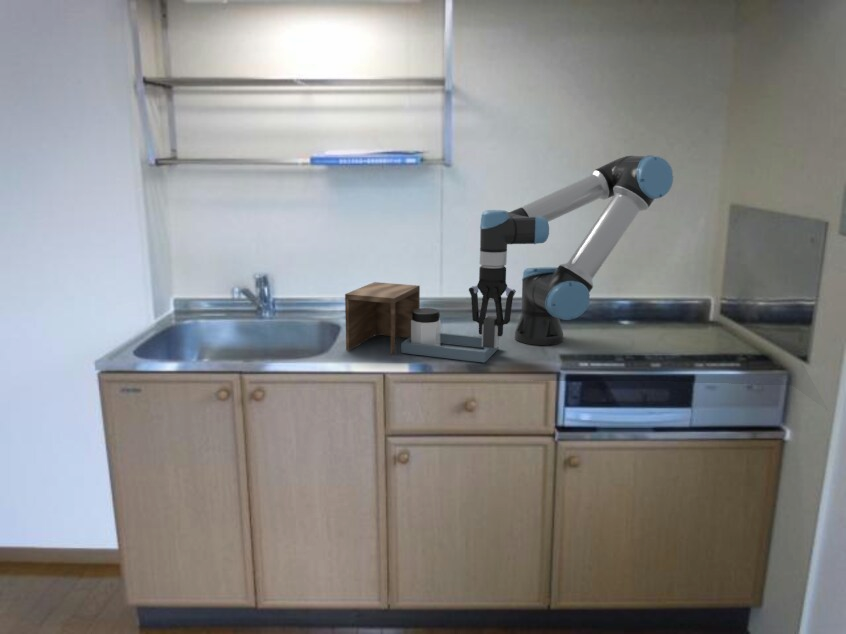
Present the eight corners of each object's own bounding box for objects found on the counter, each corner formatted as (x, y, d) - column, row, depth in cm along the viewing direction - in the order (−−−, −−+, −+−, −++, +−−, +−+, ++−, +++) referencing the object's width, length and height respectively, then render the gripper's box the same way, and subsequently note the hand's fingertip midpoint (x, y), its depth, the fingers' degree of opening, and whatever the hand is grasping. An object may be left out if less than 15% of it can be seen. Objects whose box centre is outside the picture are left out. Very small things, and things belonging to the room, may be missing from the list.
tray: (501, 348, 201) (502, 312, 199) (487, 363, 187) (489, 324, 185) (420, 339, 210) (420, 305, 208) (401, 352, 196) (401, 316, 194)
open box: (419, 338, 213) (419, 285, 209) (393, 355, 195) (393, 298, 191) (375, 333, 219) (374, 282, 215) (346, 349, 200) (345, 294, 196)
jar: (434, 355, 195) (434, 315, 192) (407, 352, 198) (408, 313, 195) (443, 347, 203) (443, 308, 201) (417, 344, 206) (417, 306, 203)
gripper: (524, 265, 189) (520, 345, 195) (469, 262, 195) (467, 339, 200) (518, 269, 183) (514, 352, 188) (461, 266, 188) (459, 346, 194)
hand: (490, 345), depth 194 cm, fingers closed on tray, 3 cm apart
